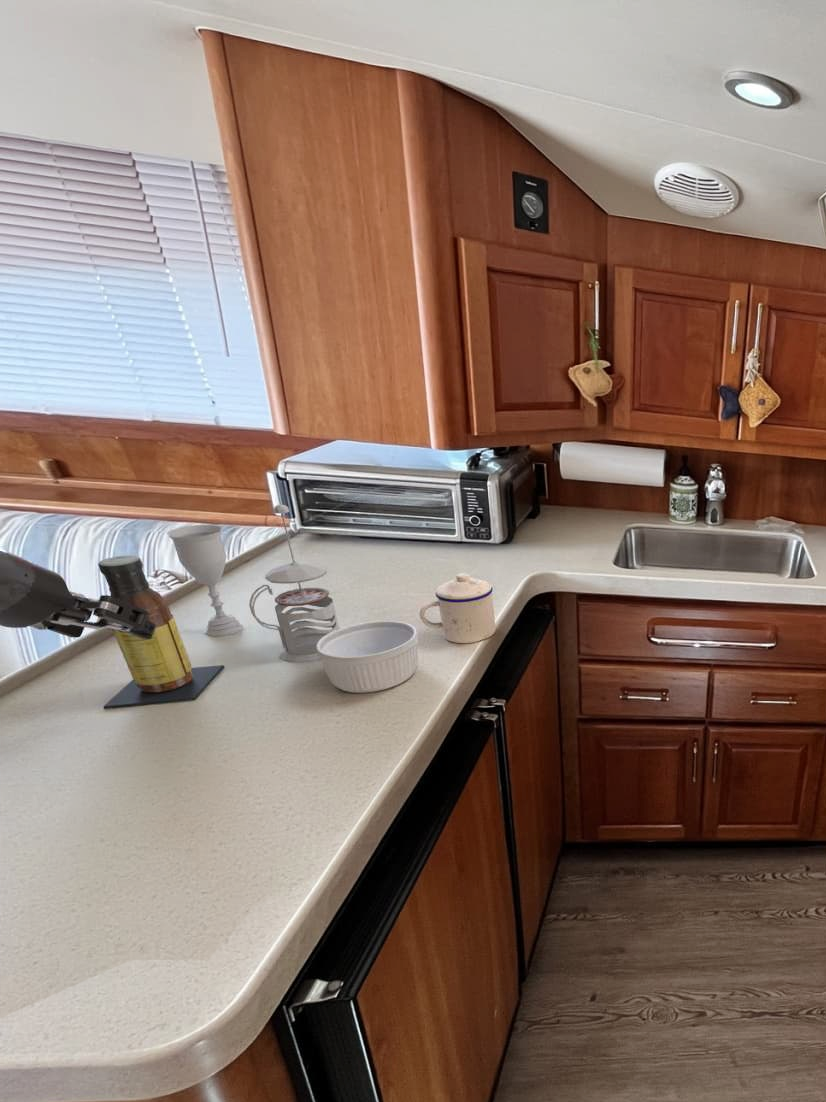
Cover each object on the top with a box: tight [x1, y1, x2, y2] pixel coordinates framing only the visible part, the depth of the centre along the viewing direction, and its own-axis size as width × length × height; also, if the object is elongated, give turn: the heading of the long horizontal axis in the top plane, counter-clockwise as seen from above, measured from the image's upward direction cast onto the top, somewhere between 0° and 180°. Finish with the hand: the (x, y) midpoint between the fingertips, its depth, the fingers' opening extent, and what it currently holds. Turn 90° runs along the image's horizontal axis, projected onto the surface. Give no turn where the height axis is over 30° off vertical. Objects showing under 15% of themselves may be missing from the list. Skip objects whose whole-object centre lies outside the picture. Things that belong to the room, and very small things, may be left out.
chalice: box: [166, 524, 244, 637], centre depth 107 cm, size 7×7×18 cm
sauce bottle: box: [97, 554, 193, 693], centre depth 90 cm, size 7×6×20 cm
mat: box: [102, 664, 225, 710], centre depth 94 cm, size 10×10×1 cm
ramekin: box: [316, 620, 419, 694], centre depth 100 cm, size 13×13×7 cm
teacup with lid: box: [418, 572, 497, 644], centre depth 114 cm, size 12×9×12 cm
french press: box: [249, 504, 340, 663], centre depth 102 cm, size 10×12×25 cm
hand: (115, 631), depth 85 cm, fingers open, 8 cm apart
